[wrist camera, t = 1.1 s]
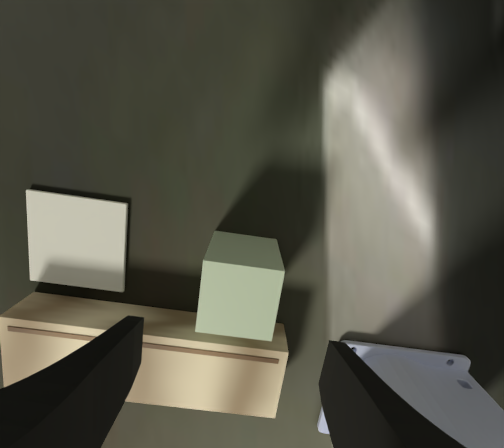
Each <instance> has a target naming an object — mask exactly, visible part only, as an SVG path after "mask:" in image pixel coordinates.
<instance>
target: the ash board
mask: <svg viewBox="0 0 504 448" xmlns="http://www.w3.org/2000/svg"><path fill="white" fill-rule="evenodd" d="M128 315H130V316H138V317H144V328H143V344H142V360H141V365H140V367H139V370H138V373H137V376H136V378H135V381H134V383H133V386H132V388H131V390H130V392H129V394H128V396H127V398H126V400H125V401H128V402H136V403H145V404H154V405H163V406H171V407H180V408H189V409H198V410H206V411H215V412H224V413H233V414H242V415H250V416H259V417H268V418H275V415H276V411H277V406H278V401H279V396H280V392H281V387H282V382H283V377H284V373H285V368H286V363H287V358H288V354H289V351H288V346H287V340H286V335H285V329H284V324H282V323H275V326H274V332H273V337H272V341H265V340H257V339H248V338H240V337H232V336H224V335H216V334H208V333H200V332H195V329H196V320H197V313H196V312H188V311H180V310H172V309H164V308H156V307H149V306H141V305H133V304H125V303H117V302H110V301H102V300H94V299H86V298H78V297H70V296H63V295H55V294H47V293H39V292H33V293H32V294H30V295H29V296H27V297H26V298H24V299H23V300H22V301H20V302H19V303H17V304H16V305H14V306H13V307H12V308H10V309H9V310H7V311H6V312H4V313H3V314H2V315H0V342H1V355H2V367H3V380H4V387H6V386H9V385H11V384H13V383H15V382H18V381H20V380H22V379H24V378H26V377H28V376H30V375H32V374H34V373H36V372H38V371H40V370H42V369H44V368H46V367H48V366H50V365H52V364H53V363H55V362H57V361H59V360H61V359H62V358H64V357H65V356H67V355H69V354H70V353H72V352H74V351H75V350H77V349H79V348H80V347H82V346H84V345H85V344H87V343H88V342H90V341H91V340H93V339H94V338H96V337H97V336H99V335H100V334H102V333H103V332H105V331H106V330H107V329H109V328H110V327H112V326H113V325H115V324H116V323H118V322H119V321H120V320H122V319H123V318H125V317H126V316H128Z"/></svg>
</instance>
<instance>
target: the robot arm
mask: <svg viewBox="0 0 504 448" xmlns="http://www.w3.org/2000/svg"><path fill="white" fill-rule="evenodd" d="M143 328H144V317H138V316H130V315H128V316H126V317H125V318H123V319H122V320H120V321H119V322H118V323H116V324H115V325H113V326H112V327H110V328H109V329H107V330H106V331H105V332H103V333H102V334H100V335H99V336H97V337H96V338H94V339H93V340H91V341H90V342H88V343H87V344H85V345H84V346H82V347H80V348H79V349H77V350H75V351H74V352H72V353H70V354H69V355H67V356H65V357H64V358H62V359H61V360H59V361H57V362H55V363H53V364H52V365H50V366H48V367H46V368H44V369H42V370H40V371H38V372H36V373H34V374H32V375H30V376H28V377H26V378H24V379H22V380H20V381H18V382H15V383H13V384H11V385H9V386H6V387H4V388H2V389H0V448H101V446H102V444H103V442H104V440H105V438H106V436H107V434H108V432H109V431H110V429H111V427H112V425H113V423H114V421H115V419H116V417H117V415H118V413H119V412H120V410H121V408H122V406H123V404H124V402H125V400H126V398H127V396H128V394H129V392H130V390H131V388H132V386H133V383H134V381H135V378H136V376H137V373H138V370H139V367H140V365H141V360H142V344H143ZM352 347H355V348H354V349H353V350H352V349H351V348H352ZM448 360H450V361H448ZM447 361H448V362H447ZM470 364H471V361H470V360H469V359H468V358H467V357H466V356H465V355H459V354H451V353H444V352H436V351H428V350H420V349H412V348H404V347H396V346H388V345H380V344H373V343H365V342H357V341H349V340H343V341H341V342H338V341H330V340H329V344H328V348H327V352H326V356H325V360H324V364H323V368H322V372H321V376H320V380H319V389H320V396H321V402H322V408H321V412H320V416H319V419H318V423H317V426H318V430H319V431H320V432H321V433H326V434H330V437H331V440H332V444H333V447H334V448H504V410H503V409H502V408H501V407H500V406H499V405H498V404H497V403H496V402H495V401H494V400H493V399H492V398H491V396H490V395H489V394H488V393H487V392H486V391H485V390H484V389H483V388H482V387H481V386H480V385H479V384H478V383H477V381H476V380H475V379H474V378H473V377H472V376H471V375H470V374H469V373H468V370H469V367H470Z"/></svg>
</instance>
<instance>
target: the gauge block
mask: <svg viewBox="0 0 504 448" xmlns="http://www.w3.org/2000/svg"><path fill="white" fill-rule="evenodd" d="M284 274H285V269H284V265H283V262H282V258H281V254H280V250H279V246H278V243H277V239H271V238H264V237H257V236H250V235H243V234H235V233H228V232H221V231H214V234H213V236H212V239H211V242H210V244H209V247H208V249H207V252H206V254H205V257H204V260H203V267H202V276H201V285H200V293H199V302H198V311H197V320H196V329H195V332H200V333H208V334H216V335H224V336H232V337H240V338H248V339H257V340H265V341H272V337H273V332H274V326H275V321H276V316H277V311H278V306H279V300H280V295H281V290H282V285H283V279H284Z"/></svg>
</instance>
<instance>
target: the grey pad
mask: <svg viewBox="0 0 504 448" xmlns="http://www.w3.org/2000/svg"><path fill="white" fill-rule="evenodd" d="M26 201H27V223H28V244H29V266H30V280H32V281H40V282H47V283H55V284H63V285H70V286H78V287H86V288H94V289H101V290H109V291H117V292H123V291H124V290H125V268H126V245H127V221H128V203H123V202H116V201H109V200H102V199H95V198H88V197H81V196H74V195H67V194H60V193H53V192H46V191H39V190H32V189H28V190H26Z"/></svg>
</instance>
